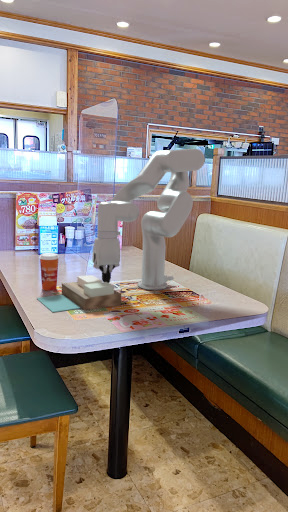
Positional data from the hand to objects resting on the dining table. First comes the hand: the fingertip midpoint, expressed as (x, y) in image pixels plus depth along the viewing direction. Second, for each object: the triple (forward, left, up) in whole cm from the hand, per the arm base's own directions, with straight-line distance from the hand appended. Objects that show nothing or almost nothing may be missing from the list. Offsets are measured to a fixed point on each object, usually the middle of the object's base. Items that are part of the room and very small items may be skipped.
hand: (106, 282), depth 156 cm
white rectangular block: (+7, 0, -1) cm, 7 cm away
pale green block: (+8, +10, -1) cm, 13 cm away
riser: (+8, +3, -5) cm, 10 cm away
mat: (+20, +3, -5) cm, 21 cm away
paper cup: (+17, -16, -5) cm, 24 cm away
